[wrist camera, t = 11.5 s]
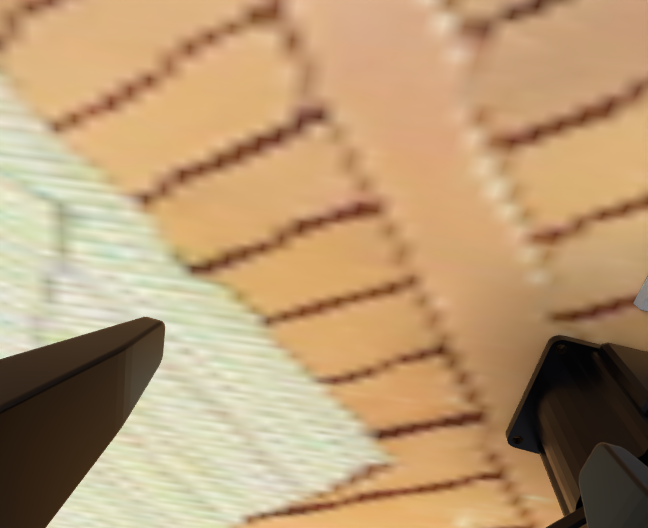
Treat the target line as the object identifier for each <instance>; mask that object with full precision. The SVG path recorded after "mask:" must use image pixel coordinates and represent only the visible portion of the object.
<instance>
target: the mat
mask: <svg viewBox="0 0 648 528" xmlns="http://www.w3.org/2000/svg"><path fill="white" fill-rule="evenodd" d="M633 304H634V305H636V306H637V307H638V308H639V309H640V310H644V311H648V276H647V278H646V280H645V282H644V284H643V286H642V288H641V290H640V291H639V293H638V295H637V297H636V299H635V301H634V303H633Z"/></svg>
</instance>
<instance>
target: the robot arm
mask: <svg viewBox="0 0 648 528" xmlns="http://www.w3.org/2000/svg"><path fill="white" fill-rule="evenodd" d="M164 336H165V324H164V323H163V321H160V320H156V319H153V318H149V317H142V318H139V319H135V320H132V321H128V322H125V323H122V324H118V325H115V326H112V327H108V328H105V329H101V330H98V331H95V332H91V333H88V334H84V335H81V336H78V337H74V338H71V339H67V340H64V341H61V342H57V343H54V344H50V345H47V346H44V347H40V348H37V349H33V350H30V351H27V352H23V353H20V354H16V355H13V356H10V357H6V358H3V359H0V528H46V527H47V525H48V524H49V523H50V521H51V520H52V519H53V517H54V516H55V515H56V513H57V512H58V511H59V509H60V508H61V507H62V506H63V504H64V503H65V502H66V500H67V499H68V498H69V496H70V495H71V494H72V492H73V491H74V490H75V488H76V487H77V486H78V484H79V483H80V482H81V481H82V479H83V478H84V477H85V475H86V474H87V473H88V471H89V470H90V469H91V467H92V466H93V465H94V463H95V462H96V461H97V460H98V458H99V457H100V456H101V454H102V453H103V452H104V450H105V449H106V448H107V446H108V445H109V444H110V442H111V441H112V440H113V438H114V437H115V436H116V434H117V433H118V432H119V430H120V429H121V428H122V426H123V425H124V423H125V421H126V420H127V418H128V417H129V415H130V413H131V412H132V410H133V408H134V407H135V405H136V403H137V402H138V400H139V398H140V397H141V395H142V393H143V392H144V390H145V388H146V387H147V385H148V383H149V382H150V380H151V378H152V377H153V375H154V373H155V372H156V370H157V368H158V367H159V365H160V363H161V360H162V357H163V348H164ZM558 345H564V347H563V348H562V349H556V347H557V346H558ZM515 436H520V437H519V438H514V437H515ZM506 438H507V441H508V443H509V444H510V445H511V446H512V447H515V448H519V449H522V450H526V451H530V452H534V453H537V454H540V456H541V458H542V461H543V464H544V466H545V469H546V471H547V474H548V476H549V479H550V482H551V484H552V487H553V489H554V492H555V494H556V497H557V499H558V502H559V505H560V507H561V510H562V512H563V515H564V517H563V518H561V519H560V520H558V521H556V522H554V523H553V524H551V525H549V526H548V527H546V528H648V352H644V351H640V350H636V349H632V348H628V347H624V346H620V345H616V344H612V343H605V344H601V345H598V344H594V343H590V342H586V341H582V340H578V339H574V338H570V337H566V336H561V335H558V336H554V337H552V338H551V339H550V340H549V341H548V343H547V345H546V347H545V349H544V351H543V354H542V356H541V358H540V360H539V362H538V364H537V366H536V369H535V371H534V373H533V375H532V377H531V379H530V381H529V384H528V386H527V388H526V390H525V392H524V394H523V396H522V399H521V401H520V403H519V405H518V407H517V409H516V412H515V414H514V416H513V418H512V420H511V422H510V424H509V427H508V429H507V431H506Z"/></svg>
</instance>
